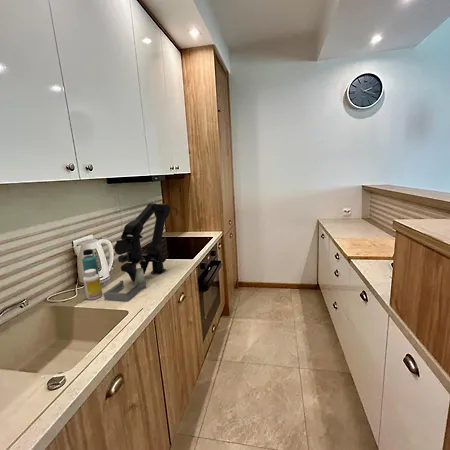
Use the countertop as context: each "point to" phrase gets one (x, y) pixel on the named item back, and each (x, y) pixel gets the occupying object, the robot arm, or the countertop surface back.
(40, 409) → the countertop surface
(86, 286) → the supplement bottle
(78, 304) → the countertop surface
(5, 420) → the countertop surface
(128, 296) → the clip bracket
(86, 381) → the countertop surface
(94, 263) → the beverage bottle
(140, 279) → the grey rounded piece
